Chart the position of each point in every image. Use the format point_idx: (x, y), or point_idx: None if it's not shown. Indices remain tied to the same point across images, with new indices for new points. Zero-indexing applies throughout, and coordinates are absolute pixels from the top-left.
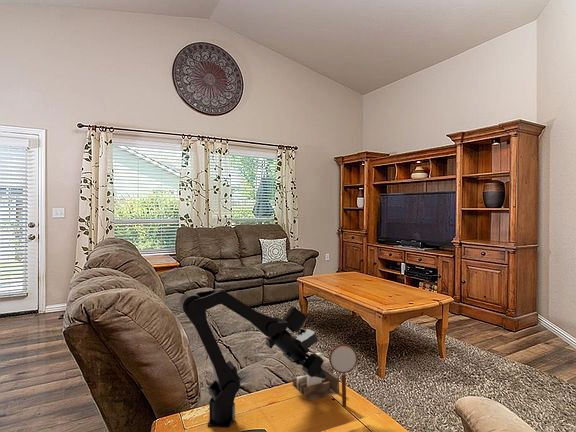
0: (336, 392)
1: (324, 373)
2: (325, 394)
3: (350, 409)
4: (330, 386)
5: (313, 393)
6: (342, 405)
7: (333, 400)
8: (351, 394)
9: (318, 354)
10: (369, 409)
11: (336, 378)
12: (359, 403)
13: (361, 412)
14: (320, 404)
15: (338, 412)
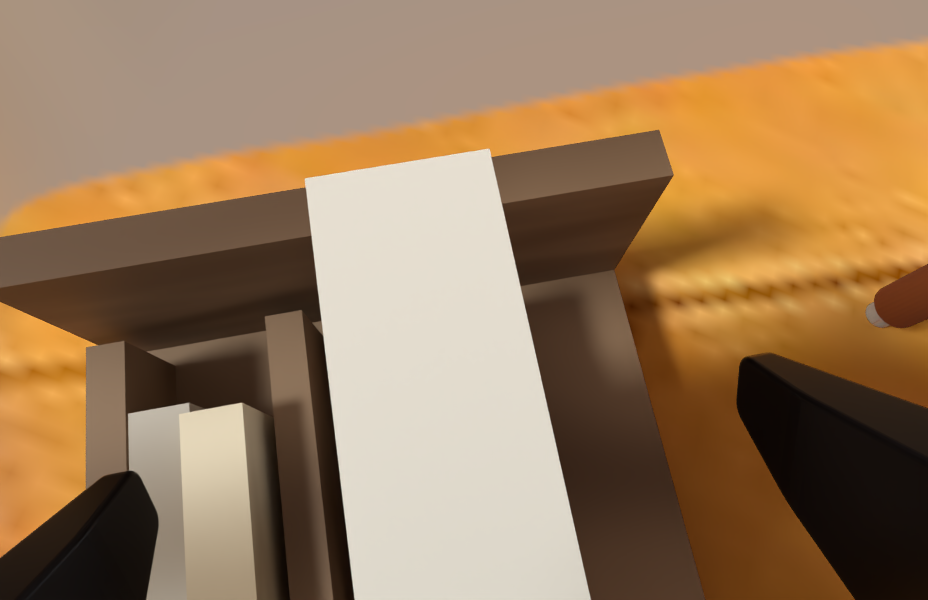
0: (613, 265)
1: (856, 392)
2: (595, 409)
3: (850, 248)
4: None
5: None
6: (918, 320)
7: None
8: (555, 116)
9: (519, 296)
10: (871, 88)
11: (670, 175)
12: (748, 121)
13: (918, 175)
14: (691, 526)
15: (896, 390)
